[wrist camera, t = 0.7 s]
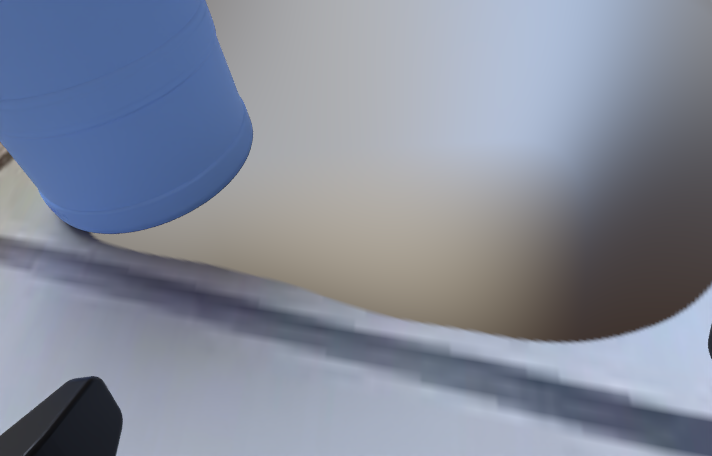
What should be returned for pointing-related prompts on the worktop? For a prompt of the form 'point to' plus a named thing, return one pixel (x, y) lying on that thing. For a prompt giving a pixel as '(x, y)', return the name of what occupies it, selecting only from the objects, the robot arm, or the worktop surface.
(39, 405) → the robot arm
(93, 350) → the worktop surface
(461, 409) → the worktop surface
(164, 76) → the water jug
